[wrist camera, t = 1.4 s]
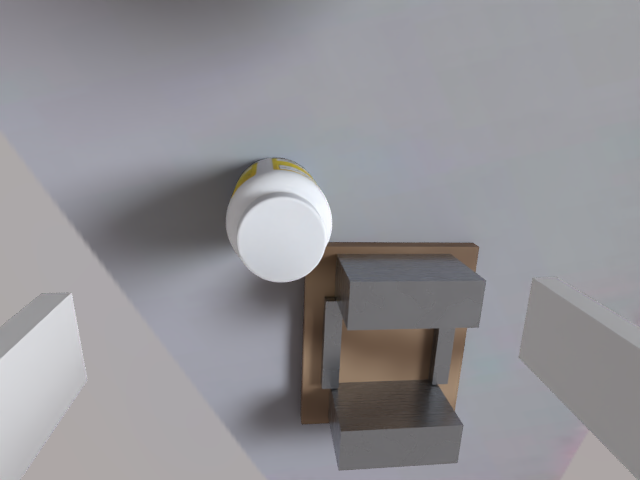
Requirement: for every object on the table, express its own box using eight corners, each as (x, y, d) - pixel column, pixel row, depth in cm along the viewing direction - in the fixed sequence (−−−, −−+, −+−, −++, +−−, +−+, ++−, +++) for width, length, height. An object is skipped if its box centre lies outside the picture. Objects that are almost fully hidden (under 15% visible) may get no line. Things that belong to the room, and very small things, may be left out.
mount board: (305, 242, 29) (306, 246, 28) (472, 242, 30) (479, 246, 29) (300, 415, 33) (301, 424, 32) (448, 408, 34) (453, 416, 33)
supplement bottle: (246, 245, 28) (235, 309, 19) (225, 166, 27) (202, 193, 18) (324, 228, 29) (351, 282, 19) (308, 148, 27) (329, 165, 18)
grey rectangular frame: (326, 253, 28) (337, 282, 23) (460, 253, 29) (497, 280, 25) (319, 417, 32) (327, 471, 27) (438, 412, 33) (467, 462, 28)
